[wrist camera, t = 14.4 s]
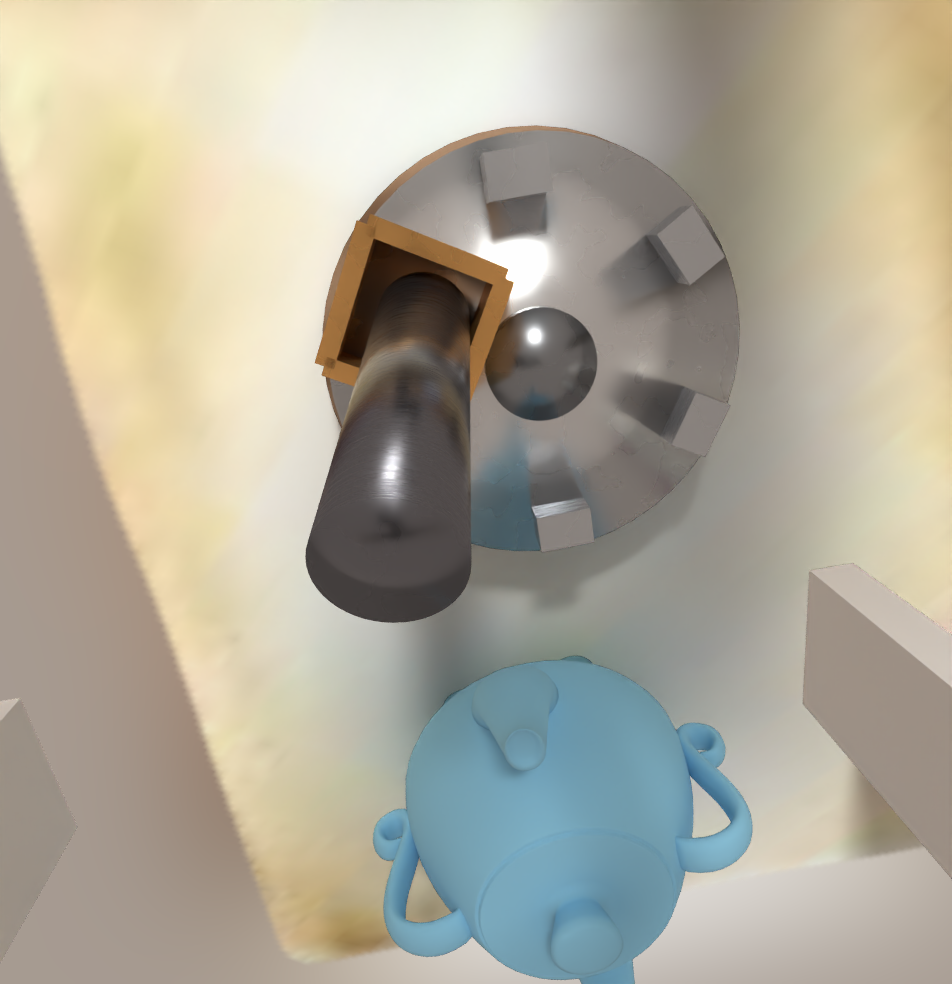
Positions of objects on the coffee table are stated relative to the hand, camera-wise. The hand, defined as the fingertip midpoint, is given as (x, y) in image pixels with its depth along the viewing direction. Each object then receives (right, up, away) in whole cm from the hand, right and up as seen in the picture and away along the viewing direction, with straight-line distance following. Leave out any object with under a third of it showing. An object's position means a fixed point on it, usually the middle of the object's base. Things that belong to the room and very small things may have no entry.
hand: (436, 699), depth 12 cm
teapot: (+4, -12, +31) cm, 34 cm away
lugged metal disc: (+3, +10, +22) cm, 24 cm away
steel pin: (-2, +11, +18) cm, 21 cm away
